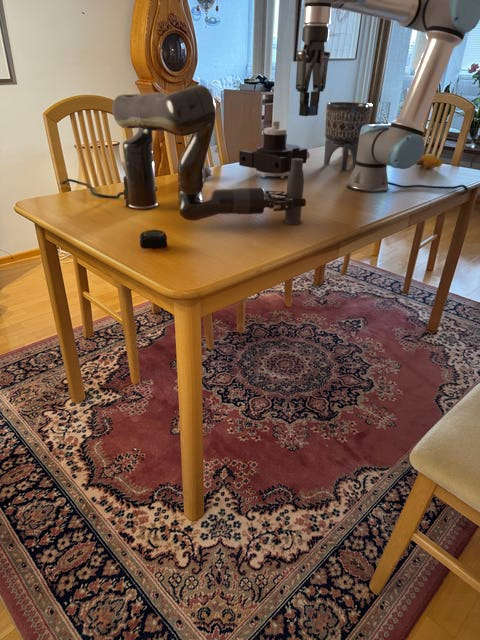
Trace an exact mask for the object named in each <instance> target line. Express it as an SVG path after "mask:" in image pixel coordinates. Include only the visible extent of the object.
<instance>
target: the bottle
mask: <svg viewBox="0 0 480 640" xmlns="http://www.w3.org/2000/svg"><path fill="white" fill-rule="evenodd" d="M303 167H304V164H303V159H300V158H293V159H292V160H291V170H290V173H289V175H288V177H287V183H286V193H287V195H286V198H292V199H300V198H303V194H304V185H305V177H304V175H305V174H304V170H303ZM286 205H289V203H287V204H286ZM302 208H303V207H293V208H292V210H284V211H285V212H284V223H285V224H287V225H293V226H295V225H300V224H301V219H302Z"/></svg>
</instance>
